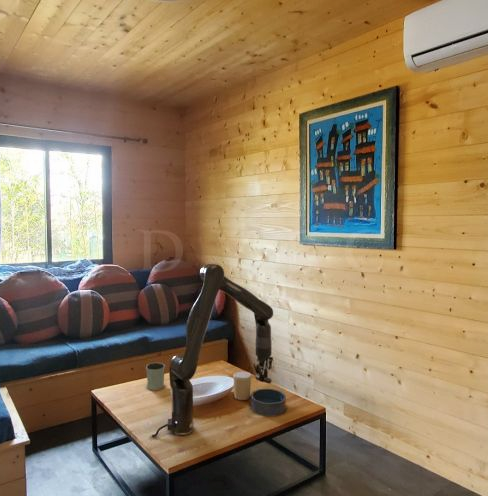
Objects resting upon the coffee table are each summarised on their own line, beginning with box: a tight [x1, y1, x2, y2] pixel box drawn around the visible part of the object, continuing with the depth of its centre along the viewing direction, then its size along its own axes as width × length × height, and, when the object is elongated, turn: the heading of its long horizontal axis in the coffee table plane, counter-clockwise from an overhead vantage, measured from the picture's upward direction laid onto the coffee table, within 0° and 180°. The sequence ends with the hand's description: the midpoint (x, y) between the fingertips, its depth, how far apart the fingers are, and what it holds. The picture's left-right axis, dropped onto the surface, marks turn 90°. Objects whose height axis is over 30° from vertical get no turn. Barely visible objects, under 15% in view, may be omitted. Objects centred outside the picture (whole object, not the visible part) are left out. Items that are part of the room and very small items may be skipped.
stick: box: [254, 374, 273, 384], centre depth 202 cm, size 9×2×2 cm, turn 51°
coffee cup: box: [232, 370, 252, 401], centre depth 219 cm, size 9×9×12 cm
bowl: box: [250, 388, 287, 417], centre depth 208 cm, size 17×17×6 cm
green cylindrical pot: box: [145, 361, 166, 391], centre depth 230 cm, size 10×10×12 cm
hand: (263, 380), depth 202 cm, fingers closed on stick, 2 cm apart
